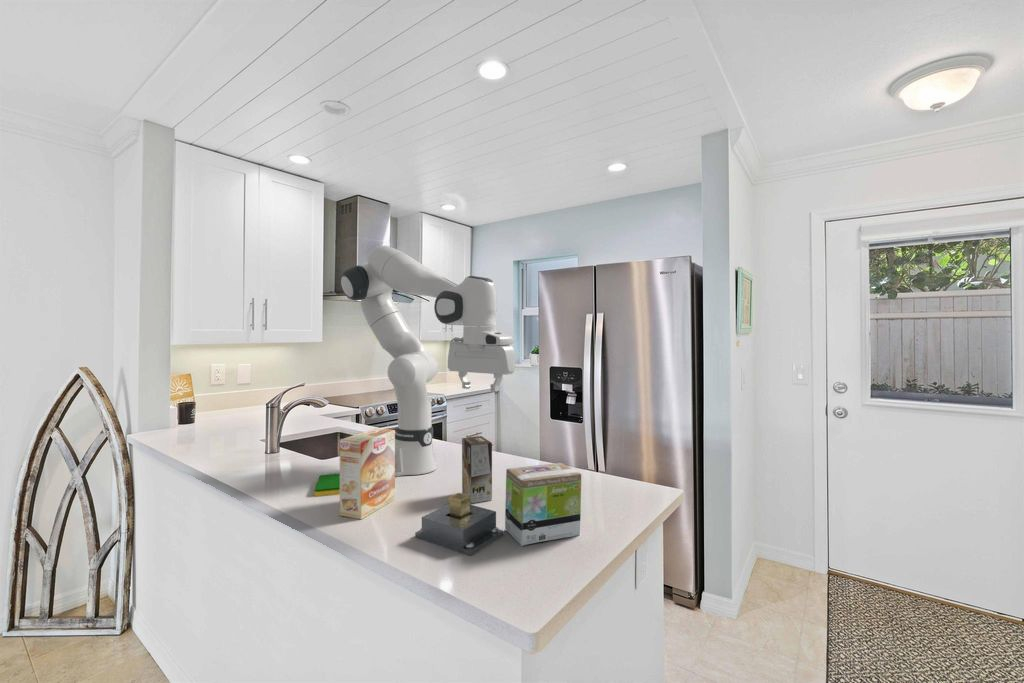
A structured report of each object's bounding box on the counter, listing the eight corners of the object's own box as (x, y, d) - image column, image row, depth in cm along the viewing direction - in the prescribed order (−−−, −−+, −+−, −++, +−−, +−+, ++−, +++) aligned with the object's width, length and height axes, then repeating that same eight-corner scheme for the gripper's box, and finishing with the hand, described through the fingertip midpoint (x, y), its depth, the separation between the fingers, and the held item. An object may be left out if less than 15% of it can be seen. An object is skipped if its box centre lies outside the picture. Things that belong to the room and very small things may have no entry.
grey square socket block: (415, 536, 107) (415, 515, 107) (450, 519, 117) (450, 499, 117) (470, 555, 98) (470, 532, 98) (503, 534, 108) (503, 513, 108)
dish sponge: (344, 480, 148) (344, 472, 148) (341, 495, 135) (341, 487, 135) (319, 482, 146) (319, 474, 146) (314, 498, 133) (314, 489, 132)
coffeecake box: (361, 520, 117) (361, 441, 116) (338, 516, 119) (337, 439, 118) (396, 499, 131) (396, 429, 130) (375, 496, 133) (374, 427, 132)
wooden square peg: (448, 532, 107) (447, 497, 107) (458, 526, 110) (458, 492, 110) (461, 536, 105) (460, 500, 105) (471, 530, 108) (471, 495, 108)
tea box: (522, 548, 102) (522, 480, 101) (504, 529, 111) (504, 467, 111) (581, 536, 108) (582, 472, 107) (560, 519, 117) (560, 460, 117)
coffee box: (493, 500, 130) (493, 442, 129) (471, 504, 127) (470, 444, 127) (481, 489, 138) (481, 435, 138) (460, 492, 136) (460, 437, 135)
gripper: (442, 337, 127) (442, 388, 128) (504, 338, 116) (504, 394, 117) (457, 336, 133) (457, 385, 133) (518, 337, 121) (518, 391, 122)
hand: (480, 389), depth 125 cm, fingers open, 8 cm apart
